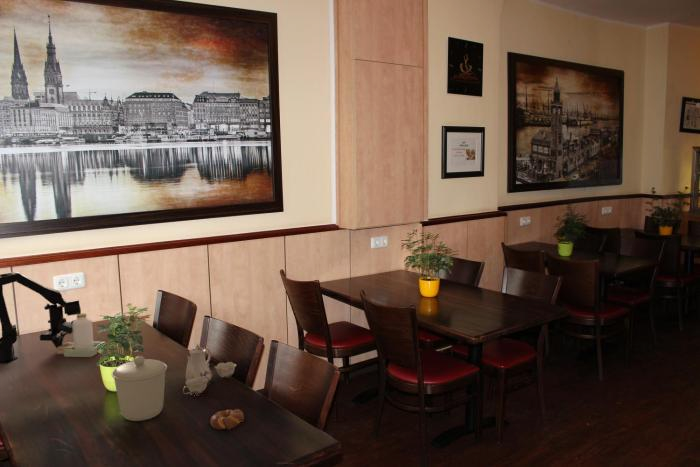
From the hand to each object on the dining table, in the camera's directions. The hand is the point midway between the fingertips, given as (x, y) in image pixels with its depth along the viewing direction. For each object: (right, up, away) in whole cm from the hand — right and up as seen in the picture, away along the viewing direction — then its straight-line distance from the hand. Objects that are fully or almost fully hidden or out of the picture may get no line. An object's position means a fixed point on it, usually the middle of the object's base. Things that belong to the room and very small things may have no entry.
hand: (59, 349), depth 267 cm
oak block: (+5, -1, 0) cm, 5 cm away
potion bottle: (+12, -1, -1) cm, 12 cm away
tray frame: (+13, -1, -1) cm, 13 cm away
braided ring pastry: (+96, -10, -76) cm, 123 cm away
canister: (+65, -9, -69) cm, 95 cm away
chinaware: (+80, -5, -42) cm, 90 cm away
